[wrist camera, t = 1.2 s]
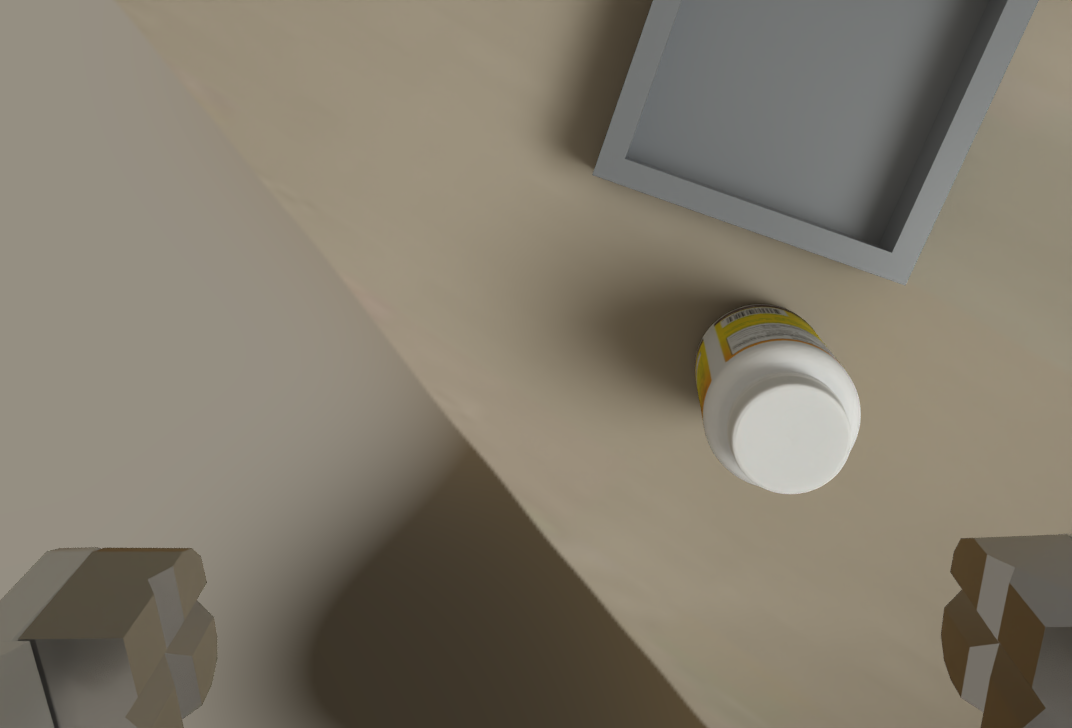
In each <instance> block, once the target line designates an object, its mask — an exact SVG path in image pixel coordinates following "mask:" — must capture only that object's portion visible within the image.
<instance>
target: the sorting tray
mask: <svg viewBox="0 0 1072 728" xmlns="http://www.w3.org/2000/svg"><path fill="white" fill-rule="evenodd" d="M1038 1H1039V0H653V2H652V5H651V8H650V10H649V13H648V16H647V19H646V22H645V25H644V28H643V31H642V33H641V36H640V39H639V42H638V45H637V48H636V51H635V54H634V57H633V59H632V62H631V65H630V68H629V71H628V74H627V77H626V80H625V82H624V85H623V88H622V91H621V94H620V97H619V100H618V103H617V106H616V108H615V111H614V114H613V117H612V120H611V123H610V126H609V129H608V131H607V134H606V137H605V140H604V143H603V146H602V149H601V152H600V155H599V157H598V160H597V163H596V166H595V169H594V172H593V175H594V176H597V177H600V178H603V179H605V180H608V181H611V182H614V183H617V184H620V185H622V186H625V187H628V188H631V189H634V190H637V191H639V192H642V193H645V194H648V195H651V196H654V197H656V198H659V199H662V200H665V201H668V202H671V203H673V204H676V205H679V206H682V207H685V208H688V209H690V210H693V211H696V212H699V213H702V214H704V215H707V216H710V217H713V218H716V219H719V220H721V221H724V222H727V223H730V224H733V225H736V226H738V227H741V228H744V229H747V230H750V231H753V232H755V233H758V234H761V235H764V236H767V237H770V238H772V239H775V240H778V241H781V242H784V243H787V244H789V245H792V246H795V247H798V248H801V249H804V250H806V251H809V252H812V253H815V254H818V255H821V256H823V257H826V258H829V259H832V260H835V261H838V262H840V263H843V264H846V265H849V266H852V267H854V268H857V269H860V270H863V271H866V272H869V273H871V274H874V275H877V276H880V277H883V278H886V279H888V280H891V281H894V282H897V283H900V284H903V285H906V283H907V281H908V279H909V277H910V275H911V272H912V270H913V268H914V266H915V264H916V262H917V260H918V257H919V255H920V253H921V251H922V249H923V247H924V245H925V243H926V240H927V238H928V236H929V234H930V232H931V230H932V228H933V225H934V223H935V221H936V219H937V217H938V215H939V213H940V210H941V208H942V206H943V204H944V202H945V200H946V198H947V196H948V193H949V191H950V189H951V187H952V185H953V183H954V181H955V178H956V176H957V174H958V172H959V170H960V168H961V166H962V163H963V161H964V159H965V157H966V155H967V153H968V151H969V149H970V146H971V144H972V142H973V140H974V138H975V136H976V134H977V131H978V129H979V127H980V125H981V123H982V121H983V119H984V116H985V114H986V112H987V110H988V108H989V106H990V104H991V101H992V99H993V97H994V95H995V93H996V91H997V89H998V87H999V84H1000V82H1001V80H1002V78H1003V76H1004V74H1005V72H1006V69H1007V67H1008V65H1009V63H1010V61H1011V59H1012V57H1013V54H1014V52H1015V50H1016V48H1017V46H1018V44H1019V42H1020V40H1021V37H1022V35H1023V33H1024V31H1025V29H1026V27H1027V25H1028V22H1029V20H1030V18H1031V16H1032V14H1033V12H1034V10H1035V7H1036V5H1037V3H1038Z"/></svg>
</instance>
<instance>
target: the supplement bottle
mask: <svg viewBox="0 0 1072 728" xmlns="http://www.w3.org/2000/svg"><path fill="white" fill-rule="evenodd" d="M695 378H696V384H697V390H698V396H699V401H700V407H701V412H702V418H703V425H704V430H705V435H706V437H707V440H708V443H709V445H710V447H711V449H712V451H713V453H714V455H715V456H716V457H717V459H718V460H719V461H720V462H721V464H722V465H723V466H724V467H725V468H726V469H727V470H729V471H730V472H731V473H732V474H734V475H735V476H737V477H738V478H740V479H742V480H744V481H746V482H748V483H750V484H753V485H756V486H760V487H762V488H764V489H766V490H769V491H772V492H775V493H781V494H800V493H805V492H809V491H812V490H815V489H817V488H819V487H821V486H823V485H824V484H826V483H827V482H829V481H830V480H832V479H833V478H834V477H835V476H836V475H837V474H838V473H839V471H840V470H841V469H842V467H843V465H844V464H845V462H846V460H847V458H848V456H849V452H850V451H851V449H852V447H853V445H854V443H855V441H856V438H857V435H858V431H859V427H860V419H861V409H860V401H859V397H858V393H857V390H856V388H855V386H854V384H853V382H852V380H851V378H850V376H849V375H848V373H847V372H846V370H845V369H844V368H843V366H842V365H841V364H840V363H839V362H838V360H837V359H836V358H835V357H834V355H833V354H832V353H831V352H830V350H829V349H828V348H827V346H826V345H825V344H824V343H823V342H822V340H821V339H820V338H819V336H818V335H817V334H816V333H815V331H814V330H813V328H812V327H811V326H810V325H809V324H808V323H807V322H806V321H805V320H803V319H802V318H801V317H799V316H798V315H796V314H795V313H793V312H791V311H789V310H787V309H784V308H781V307H778V306H774V305H766V304H755V305H748V306H743V307H740V308H737V309H735V310H732V311H730V312H728V313H727V314H725V315H723V316H722V317H721V318H719V319H718V320H717V321H716V322H715V323H713V324H712V325H711V327H710V328H709V329H708V330H707V332H706V333H705V335H704V336H703V338H702V340H701V342H700V344H699V347H698V350H697V353H696V359H695Z"/></svg>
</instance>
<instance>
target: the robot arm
mask: <svg viewBox="0 0 1072 728" xmlns="http://www.w3.org/2000/svg"><path fill="white" fill-rule="evenodd" d="M950 572H951V574H952V575H953V577H954V578H955V580H956V581H957V583H958V584H959V586H960V587H961V589H962V590H961V591H960V592H959V593H958V594H957V595H956V596H955V597H954V598H953V599H952V600H951V601H950V602H949V603H948V604H947V605H946V606H945V607H944V614H943V622H942V630H941V639H942V647H943V656H944V662H945V665H946V667H947V670H948V673H949V676H950V679H951V681H952V683H953V685H954V686H955V688H956V690H957V692H958V693H959V695H960V697H961V698H962V699H964V700H965V701H967V702H968V703H970V704H972V705H973V706H975V707H976V708H978V709H979V710H981V711H982V712H984V713H983V718H982V724H981V728H1072V534H1058V535H1037V536H1011V537H984V538H961V539H960V541H959V543H958V545H957V547H956V549H955V551H954V554H953V560H952V565H951V571H950ZM206 583H207V581H206V576H205V572H204V568H203V564H202V559H201V556H200V555H199V554H197V552H196V551H194V550H193V549H192V548H102V549H101V548H97V547H95V548H94V547H92V548H59V549H55V550H51V551H47V552H46V553H45V554H44V555H43V556H42V557H41V558H40V559H39V560H38V561H37V562H36V563H35V564H34V565H33V566H32V567H31V569H30V570H29V571H28V572H27V573H26V574H25V575H24V576H23V577H22V578H21V579H20V580H19V581H18V582H17V583H16V584H15V586H14V587H13V588H12V589H11V590H10V591H9V592H8V593H7V594H6V595H5V596H4V597H3V598H2V599H1V600H0V728H184V727H183V722H182V719H183V718H185V717H186V716H188V715H189V714H191V713H192V712H193V711H195V710H196V709H198V708H199V707H200V706H202V704H203V702H204V700H205V698H206V696H207V694H208V692H209V689H210V687H211V685H212V681H213V676H214V672H215V667H216V662H217V633H216V627H215V622H214V617H213V616H212V615H211V614H210V613H209V612H208V611H207V610H206V609H205V608H204V607H203V606H202V605H201V604H200V603H199V602H198V601H197V598H198V597H199V595H200V593H201V592H202V590H203V588H204V587H205V585H206Z"/></svg>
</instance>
